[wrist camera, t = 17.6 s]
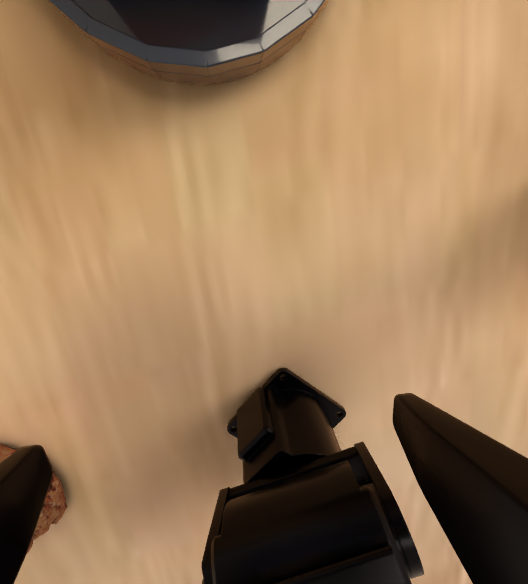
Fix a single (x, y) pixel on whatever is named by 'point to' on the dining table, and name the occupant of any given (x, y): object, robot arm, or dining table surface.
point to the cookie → (52, 504)
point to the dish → (194, 34)
